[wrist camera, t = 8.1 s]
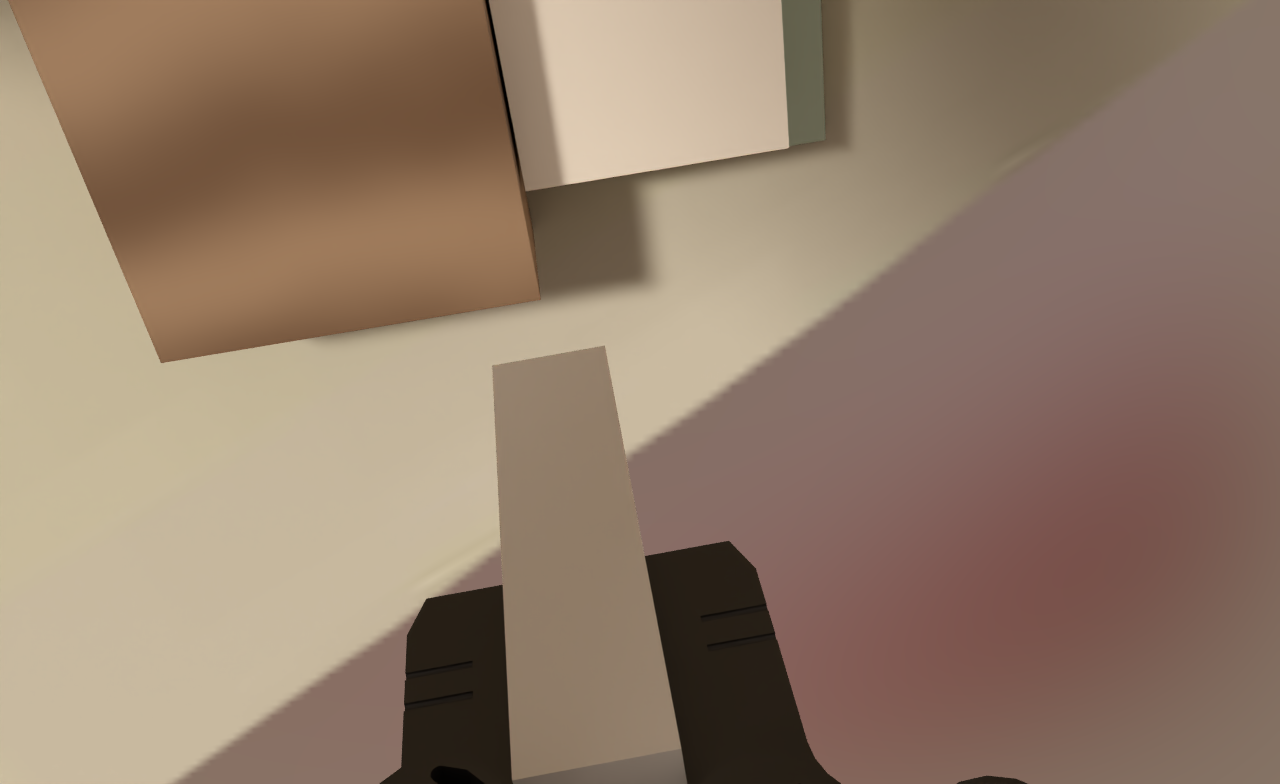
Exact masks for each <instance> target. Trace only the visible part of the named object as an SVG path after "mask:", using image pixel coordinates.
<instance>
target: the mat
mask: <svg viewBox="0 0 1280 784" xmlns="http://www.w3.org/2000/svg"><path fill="white" fill-rule="evenodd" d="M781 4H782V23H783V42H784V61H785V80H786V99H787V118H788V137H789V146H793V145H800V144H806V143H812V142H818V141H824V140H826V137H825V107H824V76H823V46H822V15H821V0H781Z"/></svg>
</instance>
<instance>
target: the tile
mask: <svg viewBox="0 0 1280 784" xmlns="http://www.w3.org/2000/svg"><path fill="white" fill-rule="evenodd" d="M489 4H490V9H491V14H492V20H493V25H494V30H495V35H496V40H497V45H498V51H499V56H500V61H501V66H502V71H503V77H504V82H505V87H506V92H507V97H508V103H509V108H510V113H511V118H512V123H513V128H514V134H515V139H516V144H517V149H518V154H519V160H520V165H521V170H522V175H523V180H524V186H525V191H532V190H538V189H544V188H550V187H556V186H562V185H568V184H574V183H580V182H586V181H593V180H599V179H605V178H611V177H617V176H623V175H629V174H635V173H641V172H647V171H653V170H659V169H665V168H671V167H677V166H683V165H690V164H696V163H702V162H708V161H714V160H720V159H726V158H732V157H738V156H744V155H750V154H756V153H762V152H768V151H774V150H780V149H787V148H789V137H788V118H787V99H786V80H785V61H784V42H783V23H782V4H781V0H489Z"/></svg>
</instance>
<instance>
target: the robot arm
mask: <svg viewBox="0 0 1280 784" xmlns="http://www.w3.org/2000/svg"><path fill="white" fill-rule="evenodd" d="M492 370H493V391H494V412H495V433H496V454H497V475H498V496H499V517H500V538H501V559H502V580H503V585H499V586H494V587H488V588H483V589H477V590H472V591H466V592H461V593H455V594H450V595H444V596H439V597H433V598H428V599H426V601H425V602H424V604H423V606H422V608H421V610H420V612H419V614H418V616H417V618H416V619H415V621H414V623H413V625H412V627H411V629H410V631H409V633H408V635H407V649H406V672H405V673H406V681H405V695H404V705H405V711H404V720H403V741H402V765H401V766H402V767H401V768H400V769H399V770H397V771H396V772H395V773H393V774H392V775H391V776H389V777H388V778H386V779H385V780H384V781H382V782H381V783H380V784H841V783H840V782H838V781H837V780H835V779H834V778H833V777H831V776H830V775H829V774H827V772H826V771H825V770H824V769H823V768H822V766H821V765H820V764H819V763H818V762H817V760H816V759H815V757H814V755H813V753H812V751H811V749H810V747H809V744H808V742H807V739H806V736H805V733H804V729H803V726H802V722H801V719H800V715H799V712H798V709H797V706H796V702H795V699H794V695H793V692H792V689H791V685H790V682H789V678H788V675H787V672H786V668H785V665H784V662H783V658H782V655H781V652H780V648H779V645H778V641H777V640H776V637H775V631H774V628H773V625H772V621H771V618H770V615H769V611H768V610H767V606H766V601H765V598H764V594H763V591H762V588H761V585H760V581H759V578H758V574H757V572H756V568H755V567H754V566H753V565H752V564H751V563H750V562H749V561H748V560H747V559H746V558H745V557H744V556H743V555H742V554H741V553H740V552H739V551H738V550H737V549H736V548H735V547H734V546H733V545H732V544H731V542H729V541H726V542H720V543H715V544H709V545H703V546H698V547H693V548H687V549H682V550H676V551H671V552H665V553H660V554H654V555H649V556H645V555H644V550H643V545H642V539H641V534H640V529H639V524H638V519H637V513H636V508H635V502H634V497H633V492H632V487H631V481H630V476H629V471H628V466H627V460H626V455H625V450H624V445H623V439H622V434H621V429H620V424H619V418H618V413H617V408H616V403H615V397H614V392H613V387H612V382H611V376H610V371H609V366H608V361H607V355H606V350H605V346H601V347H595V348H589V349H584V350H578V351H572V352H567V353H561V354H555V355H550V356H544V357H538V358H533V359H527V360H521V361H516V362H510V363H505V364H499V365H493V366H492ZM957 784H1027V783H1025V782H1022V781H1020V780H1017V779H1012V778H1003V777H994V776H983V777H979V778H974V779H970V780H966V781H961V782H959V783H957Z"/></svg>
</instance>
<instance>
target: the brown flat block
mask: <svg viewBox="0 0 1280 784" xmlns="http://www.w3.org/2000/svg"><path fill="white" fill-rule="evenodd" d="M8 1H9V4H10V6H11V8H12V11H13V13H14V16H15V18H16V20H17V23H18V25H19V27H20V30H21V32H22V34H23V37H24V39H25V42H26V44H27V46H28V49H29V51H30V53H31V56H32V58H33V61H34V63H35V65H36V68H37V70H38V72H39V75H40V77H41V79H42V82H43V84H44V87H45V89H46V91H47V94H48V96H49V98H50V101H51V103H52V106H53V108H54V110H55V113H56V115H57V117H58V120H59V122H60V125H61V127H62V129H63V132H64V134H65V136H66V139H67V141H68V143H69V146H70V148H71V151H72V153H73V155H74V158H75V160H76V162H77V165H78V167H79V170H80V172H81V174H82V177H83V179H84V181H85V184H86V186H87V188H88V191H89V193H90V196H91V198H92V200H93V203H94V205H95V207H96V210H97V212H98V215H99V217H100V219H101V222H102V224H103V226H104V229H105V231H106V234H107V236H108V238H109V241H110V243H111V245H112V248H113V250H114V252H115V255H116V257H117V260H118V262H119V264H120V267H121V269H122V271H123V274H124V276H125V279H126V281H127V283H128V286H129V288H130V290H131V293H132V295H133V297H134V300H135V302H136V305H137V307H138V309H139V312H140V314H141V316H142V319H143V321H144V324H145V326H146V328H147V331H148V333H149V335H150V338H151V340H152V342H153V345H154V347H155V350H156V352H157V354H158V357H159V359H160V361H161V363H164V362H170V361H176V360H182V359H188V358H194V357H200V356H206V355H212V354H218V353H224V352H230V351H236V350H242V349H248V348H254V347H260V346H266V345H272V344H278V343H284V342H290V341H296V340H302V339H308V338H314V337H320V336H326V335H332V334H338V333H344V332H350V331H356V330H362V329H368V328H374V327H380V326H386V325H392V324H398V323H404V322H410V321H416V320H422V319H427V318H433V317H439V316H445V315H451V314H457V313H463V312H469V311H475V310H481V309H487V308H493V307H499V306H505V305H511V304H517V303H523V302H529V301H535V300H541V298H540V289H539V280H538V271H537V262H536V253H535V243H534V234H533V228H532V222H531V217H530V212H529V207H528V201H527V196H526V191H525V186H524V181H523V175H522V170H521V165H520V160H519V155H518V149H517V144H516V139H515V134H514V128H513V123H512V118H511V113H510V108H509V103H508V97H507V92H506V87H505V82H504V77H503V71H502V66H501V61H500V56H499V51H498V45H497V40H496V35H495V30H494V25H493V20H492V14H491V9H490V4H489V0H8Z"/></svg>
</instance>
